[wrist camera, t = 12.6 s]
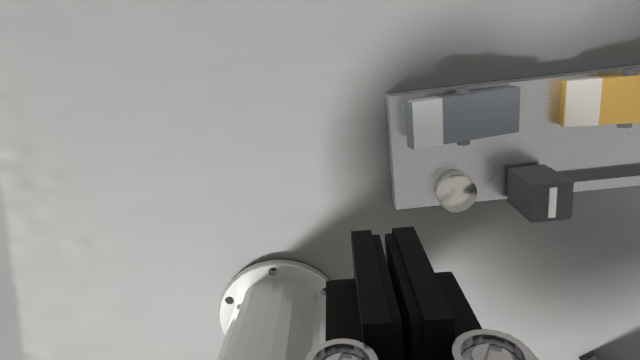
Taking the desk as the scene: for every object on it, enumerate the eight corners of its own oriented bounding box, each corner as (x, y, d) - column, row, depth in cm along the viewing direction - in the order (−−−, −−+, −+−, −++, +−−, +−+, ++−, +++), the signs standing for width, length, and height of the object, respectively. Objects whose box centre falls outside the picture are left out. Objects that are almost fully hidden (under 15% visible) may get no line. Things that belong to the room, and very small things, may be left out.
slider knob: (542, 197, 36) (572, 219, 32) (507, 200, 37) (531, 223, 32) (544, 164, 35) (574, 182, 31) (507, 168, 36) (533, 186, 31)
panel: (659, 175, 38) (691, 189, 35) (392, 202, 40) (398, 218, 36) (675, 60, 35) (713, 62, 32) (385, 93, 36) (391, 99, 33)
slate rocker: (509, 134, 35) (519, 136, 34) (407, 151, 34) (413, 154, 33) (511, 80, 34) (520, 81, 33) (404, 96, 33) (410, 97, 31)
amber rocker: (688, 121, 33) (697, 124, 32) (558, 128, 35) (562, 132, 34) (697, 62, 31) (707, 63, 30) (561, 74, 34) (566, 76, 33)
